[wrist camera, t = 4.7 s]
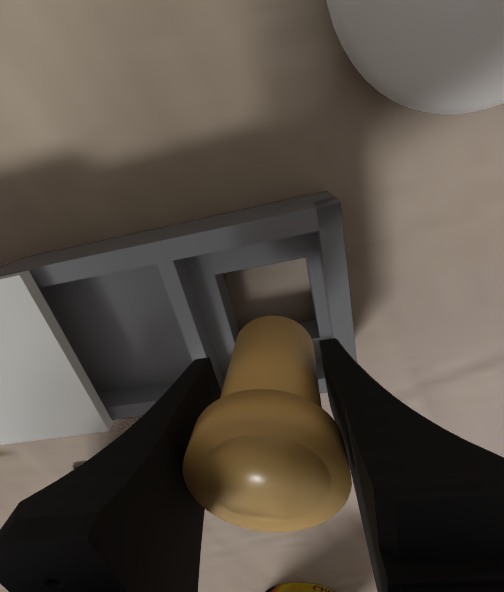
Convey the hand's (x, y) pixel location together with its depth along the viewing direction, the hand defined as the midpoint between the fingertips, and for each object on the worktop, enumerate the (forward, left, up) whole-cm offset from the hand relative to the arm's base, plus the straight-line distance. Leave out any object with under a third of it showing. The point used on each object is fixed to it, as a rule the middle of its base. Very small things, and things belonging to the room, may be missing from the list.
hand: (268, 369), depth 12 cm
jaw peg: (0, 0, -2) cm, 2 cm away
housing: (0, +5, -7) cm, 9 cm away
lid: (0, +15, -3) cm, 16 cm away
